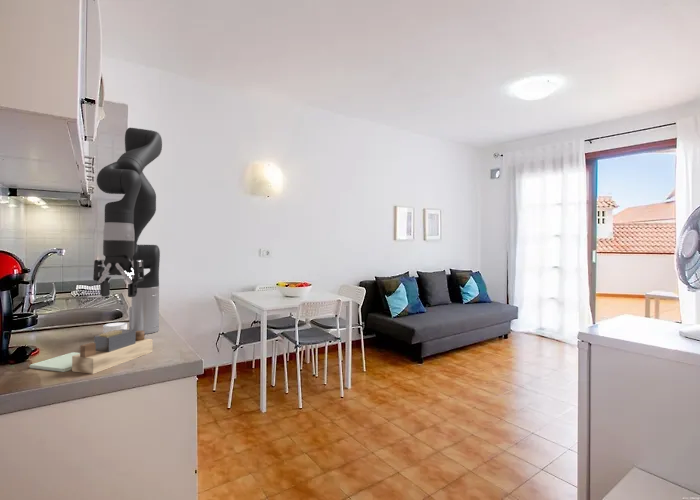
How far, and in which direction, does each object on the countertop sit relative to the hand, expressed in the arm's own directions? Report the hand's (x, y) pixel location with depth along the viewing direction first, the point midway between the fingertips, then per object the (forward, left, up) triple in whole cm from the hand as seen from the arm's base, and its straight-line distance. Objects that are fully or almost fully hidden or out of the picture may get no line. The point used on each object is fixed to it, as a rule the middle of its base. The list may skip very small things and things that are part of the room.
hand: (118, 296), depth 104 cm
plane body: (-2, +1, -19) cm, 19 cm away
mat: (-13, -4, -19) cm, 23 cm away
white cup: (-16, +14, -19) cm, 29 cm away
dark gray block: (-2, +1, -15) cm, 15 cm away
